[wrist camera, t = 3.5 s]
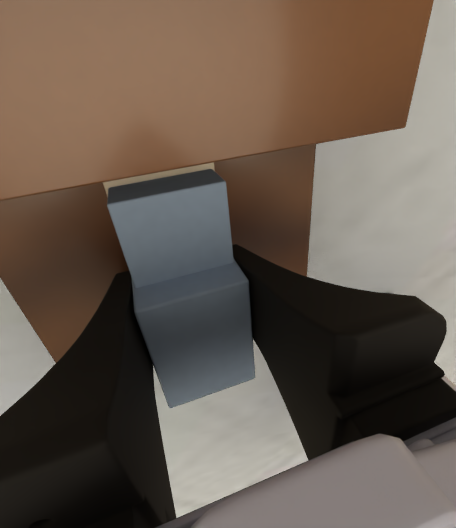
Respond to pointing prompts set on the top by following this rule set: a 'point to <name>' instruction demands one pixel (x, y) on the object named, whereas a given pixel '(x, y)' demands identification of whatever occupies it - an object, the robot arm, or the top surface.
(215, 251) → the blue stepped block
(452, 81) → the top surface
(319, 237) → the top surface
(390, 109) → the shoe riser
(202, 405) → the top surface
